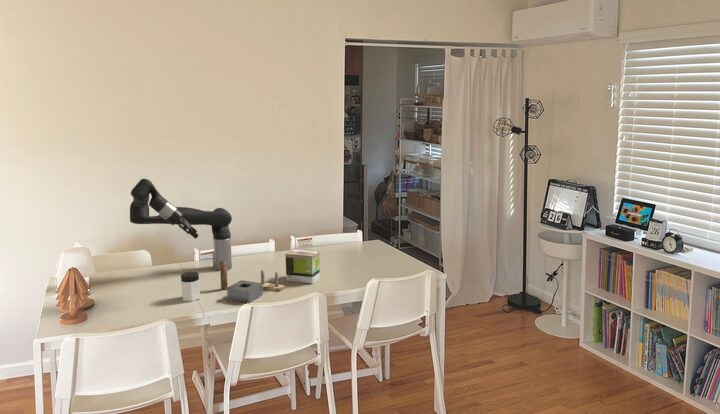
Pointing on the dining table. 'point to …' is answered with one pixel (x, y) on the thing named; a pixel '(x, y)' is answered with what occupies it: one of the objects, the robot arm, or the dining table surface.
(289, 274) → the tea box
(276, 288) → the peg rack
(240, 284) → the block
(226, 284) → the walnut pin
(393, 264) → the dining table surface
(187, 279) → the jar
